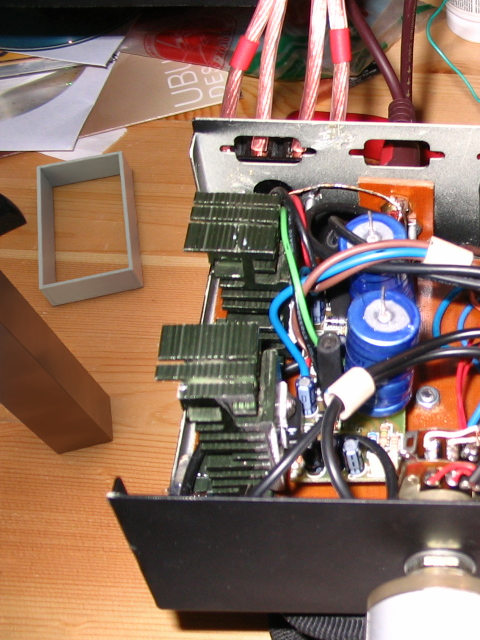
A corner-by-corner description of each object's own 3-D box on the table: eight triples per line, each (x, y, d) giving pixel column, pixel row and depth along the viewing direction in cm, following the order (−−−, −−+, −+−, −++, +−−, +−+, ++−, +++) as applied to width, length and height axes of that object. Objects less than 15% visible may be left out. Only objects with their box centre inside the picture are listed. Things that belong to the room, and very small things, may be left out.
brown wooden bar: (57, 454, 73) (-130, 288, 51) (56, 409, 76) (-124, 231, 53) (113, 440, 74) (-48, 271, 52) (109, 396, 77) (-45, 216, 54)
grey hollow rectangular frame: (52, 306, 82) (38, 289, 79) (49, 185, 90) (36, 166, 87) (143, 286, 83) (132, 269, 81) (131, 169, 92) (121, 150, 89)
